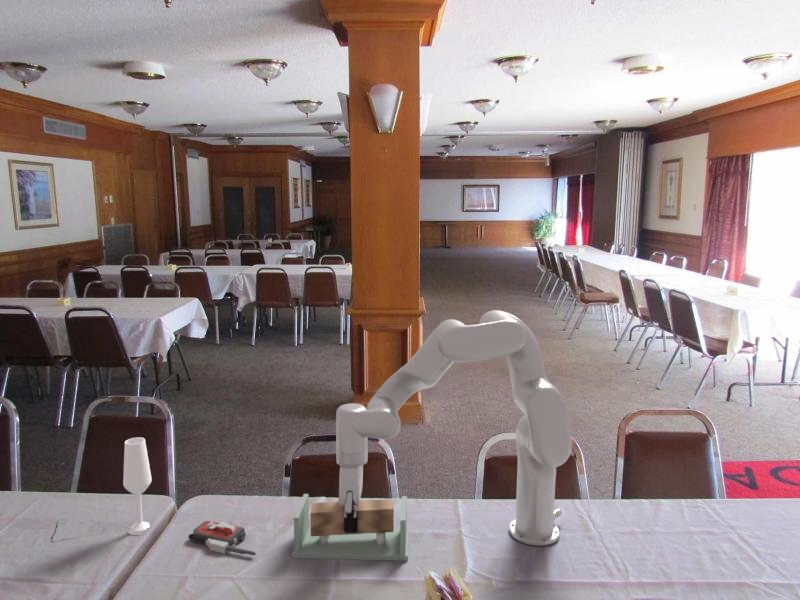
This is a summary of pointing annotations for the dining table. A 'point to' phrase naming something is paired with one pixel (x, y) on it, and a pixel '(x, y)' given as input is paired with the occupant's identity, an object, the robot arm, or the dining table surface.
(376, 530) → the wooden block
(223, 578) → the dining table surface
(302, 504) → the shelf rack
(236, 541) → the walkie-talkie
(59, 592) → the dining table surface
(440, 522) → the dining table surface
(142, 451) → the champagne flute
